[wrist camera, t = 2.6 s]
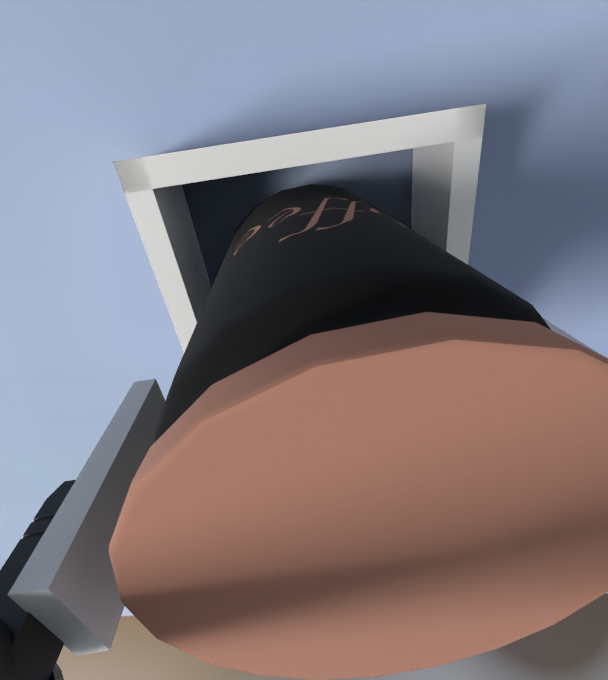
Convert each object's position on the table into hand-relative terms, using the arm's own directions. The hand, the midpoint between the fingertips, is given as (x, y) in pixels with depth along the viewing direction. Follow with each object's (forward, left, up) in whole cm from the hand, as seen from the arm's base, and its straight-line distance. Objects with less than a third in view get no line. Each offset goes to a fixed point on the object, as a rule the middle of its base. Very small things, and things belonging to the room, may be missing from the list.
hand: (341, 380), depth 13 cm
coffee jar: (0, 0, -12) cm, 12 cm away
